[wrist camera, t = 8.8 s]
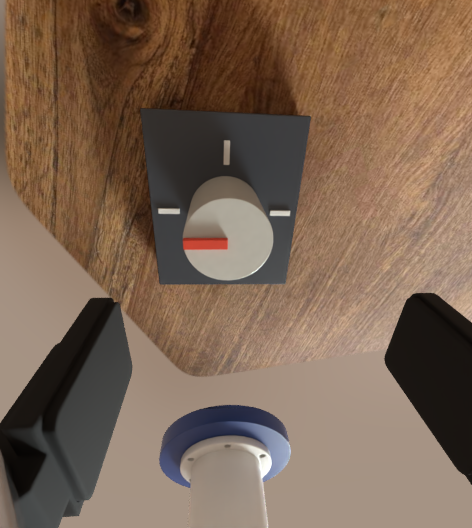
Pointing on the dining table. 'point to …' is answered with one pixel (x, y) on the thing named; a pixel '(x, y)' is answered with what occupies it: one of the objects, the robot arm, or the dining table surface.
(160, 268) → the lock panel
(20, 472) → the robot arm
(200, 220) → the lock knob
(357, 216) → the dining table surface
